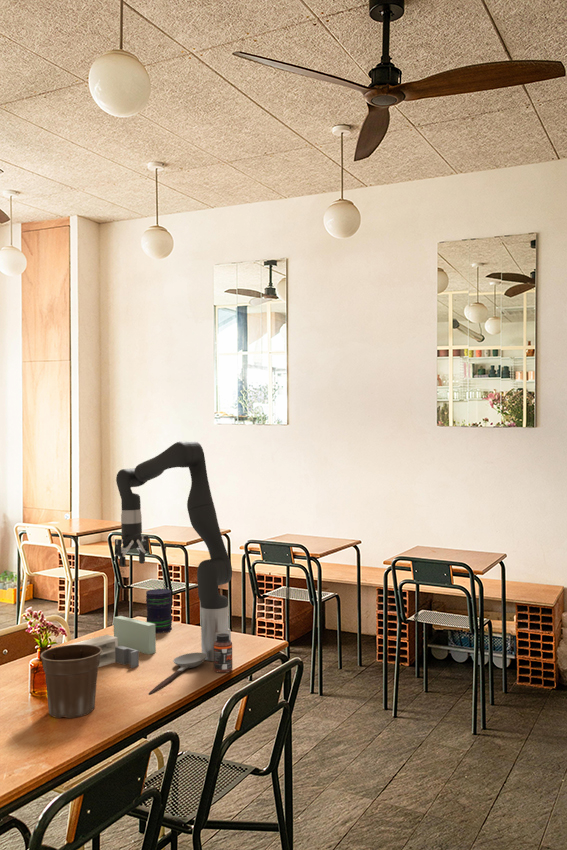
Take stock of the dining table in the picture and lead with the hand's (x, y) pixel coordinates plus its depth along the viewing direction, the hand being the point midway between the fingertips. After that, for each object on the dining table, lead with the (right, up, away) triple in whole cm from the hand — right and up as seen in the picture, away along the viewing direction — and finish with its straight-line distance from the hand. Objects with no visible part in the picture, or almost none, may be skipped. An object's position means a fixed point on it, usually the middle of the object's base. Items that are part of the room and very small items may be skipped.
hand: (132, 565), depth 274 cm
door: (+4, -27, -15) cm, 31 cm away
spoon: (+23, -27, -47) cm, 58 cm away
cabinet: (-4, -27, -38) cm, 47 cm away
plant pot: (-1, -26, -74) cm, 78 cm away
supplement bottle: (+38, -26, -41) cm, 61 cm away
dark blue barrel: (+8, -28, +11) cm, 31 cm away
